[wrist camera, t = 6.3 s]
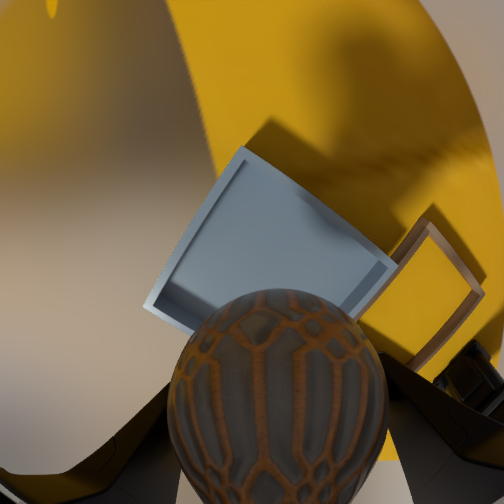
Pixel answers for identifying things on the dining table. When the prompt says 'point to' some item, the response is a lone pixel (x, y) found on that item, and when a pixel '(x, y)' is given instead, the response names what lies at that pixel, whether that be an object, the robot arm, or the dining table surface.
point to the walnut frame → (476, 295)
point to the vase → (278, 402)
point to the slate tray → (264, 248)
